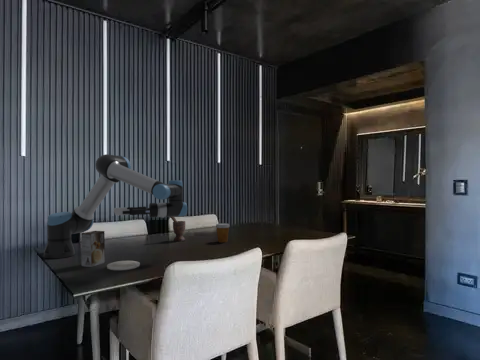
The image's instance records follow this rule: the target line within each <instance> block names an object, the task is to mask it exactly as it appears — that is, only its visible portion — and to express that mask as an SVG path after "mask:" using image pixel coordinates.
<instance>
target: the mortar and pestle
mask: <svg viewBox="0 0 480 360" xmlns="http://www.w3.org/2000/svg"><path fill="white" fill-rule="evenodd" d="M169 218H170V219H171V220H172V221H173V222H172V229H173V233H174V234H175V237H174V239H173V241H174V242H183V241H186V238H185V237H184V233H185V231H186V221H185V220H177V219H176V217H169Z"/></svg>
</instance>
